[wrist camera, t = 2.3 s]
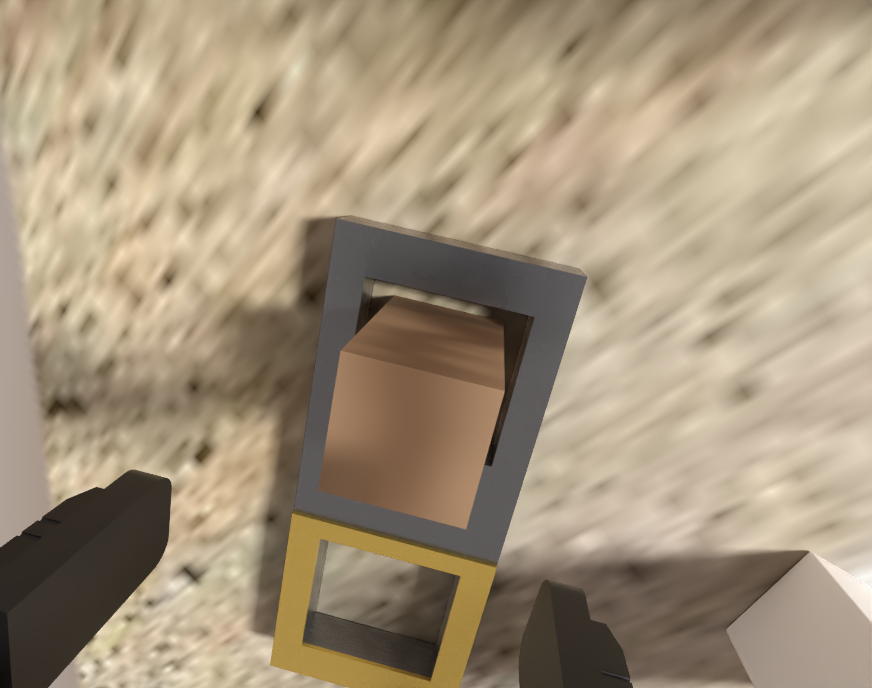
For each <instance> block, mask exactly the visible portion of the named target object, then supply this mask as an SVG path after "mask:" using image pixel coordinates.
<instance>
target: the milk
mask: <svg viewBox="0 0 872 688" xmlns="http://www.w3.org/2000/svg"><path fill="white" fill-rule="evenodd" d="M726 631H727V634H728V636H729V638H730V640H731V642H732V644H733V646H734V648H735V650H736V652H737V654H738V656H739V658H740V660H741V662H742V664H743V666H744V668H745V670H746V672H747V674H748V676H749V678H750V680H751V682H752V684H753V686H754V688H872V587H870V586H868V585H867V584H865V583H863V582H862V581H860V580H858V579H856V578H855V577H853V576H851V575H850V574H848V573H846V572H845V571H843V570H841V569H840V568H838V567H836V566H834V565H833V564H831V563H829V562H828V561H826V560H824V559H823V558H821V557H819V556H818V555H816V554H814V553H812V552H809V553H808V554H807V555H806V556H805V557H803V558H802V559H801V560H800V561H799V562H798V563H797V564H796V565H795V566H794V567H793V568H792V569H791V570H789V571H788V572H787V573H786V574H785V575H784V576H783V577H782V578H781V579H780V580H779V581H778V582H777V583H775V584H774V585H773V586H772V587H771V588H770V589H769V590H768V591H767V592H766V593H765V594H764V595H763V596H761V597H760V598H759V599H758V600H757V601H756V602H755V603H754V604H753V605H752V606H751V607H750V608H749V609H747V610H746V611H745V612H744V613H743V614H742V615H741V616H740V617H739V618H738V619H737V620H736V621H735V622H733V623H732V624H731V625H730V626H729V627H728V628H727V629H726Z"/></svg>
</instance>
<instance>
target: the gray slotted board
mask: <svg viewBox="0 0 872 688" xmlns="http://www.w3.org/2000/svg"><path fill="white" fill-rule="evenodd" d="M374 279H378V280H382V281H386V282H390V283H394V284H399V285H403V286H407V287H411V288H415V289H420V290H424V291H428V292H432V293H436V294H441V295H445V296H449V297H453V298H457V299H462V300H466V301H470V302H474V303H478V304H483V305H487V306H491V307H495V308H499V309H503V310H508V311H512V312H516V313H520V314H524V315H529V318H528V321H527V325H526V328H525V332H524V335H523V339H522V342H521V346H520V349H519V353H518V356H517V360H516V364H515V367H514V371H513V374H512V378H511V381H510V385H509V388H508V392H507V395H506V399H505V402H504V406H503V409H502V413H501V417H500V420H499V424H498V427H497V431H496V434H495V438H494V441H493V445H492V444H490V446H489V449H488V453H487V456H486V460H485V463H484V467H483V471H482V474H481V478H480V481H479V485H478V488H477V492H476V495H475V499H474V503H473V506H472V510H471V513H470V517H469V520H468V524H467V528H466V529H462V528H459V527H455V526H451V525H447V524H443V523H440V522H436V521H432V520H428V519H424V518H420V517H417V516H413V515H409V514H405V513H401V512H398V511H394V510H390V509H386V508H382V507H378V506H375V505H371V504H367V503H363V502H359V501H356V500H352V499H348V498H344V497H340V496H336V495H333V494H329V493H325V492H321V491H318V487H319V481H320V475H321V469H322V463H323V456H324V450H325V444H326V438H327V432H328V425H329V419H330V413H331V407H332V401H333V394H334V388H335V382H336V376H337V370H338V363H339V357H340V351H341V350H342V349H343V348H344V347H345V346H346V345H347V343H348V342H349V341H350V340H351V339H352V338H353V337H354V336H355V335H356V334H357V333H358V332H359V331H360V330H361V329H362V328H363V327H364V326H365V325H366V324H367V319H368V313H369V308H370V302H371V296H372V291H373V285H374ZM586 280H587V276H586V275H585V274H584V273H583V272H582V271H581V270H580V269H579V268H574V267H570V266H566V265H562V264H557V263H553V262H549V261H544V260H540V259H536V258H531V257H527V256H523V255H519V254H514V253H510V252H506V251H501V250H497V249H493V248H488V247H484V246H480V245H475V244H471V243H467V242H463V241H458V240H454V239H450V238H445V237H441V236H437V235H432V234H428V233H424V232H419V231H415V230H411V229H407V228H402V227H398V226H394V225H389V224H385V223H381V222H376V221H372V220H368V219H364V218H359V217H355V216H346V217H341V218H336V224H335V231H334V238H333V244H332V251H331V258H330V265H329V272H328V279H327V286H326V293H325V299H324V306H323V313H322V320H321V327H320V334H319V341H318V348H317V354H316V361H315V368H314V375H313V382H312V389H311V396H310V403H309V409H308V416H307V423H306V430H305V437H304V444H303V451H302V458H301V464H300V471H299V478H298V485H297V492H296V499H295V506H294V511H293V513H292V518H291V525H290V532H289V538H288V545H287V552H286V559H285V566H284V573H283V580H282V587H281V594H280V601H279V608H278V615H277V622H276V628H275V635H274V642H273V649H272V656H271V663H270V665H271V666H275V667H278V668H282V669H285V670H289V671H292V672H296V673H299V674H303V675H306V676H310V677H313V678H317V679H320V680H324V681H328V682H331V683H335V684H338V685H342V686H345V687H349V688H459V687H460V684H461V681H462V677H463V674H464V671H465V668H466V665H467V662H468V658H469V655H470V652H471V649H472V646H473V642H474V639H475V636H476V633H477V630H478V627H479V623H480V620H481V617H482V614H483V611H484V607H485V604H486V601H487V598H488V595H489V592H490V588H491V585H492V582H493V579H494V576H495V573H496V569H497V563H498V560H499V557H500V554H501V550H502V547H503V544H504V541H505V538H506V535H507V531H508V528H509V525H510V522H511V519H512V515H513V512H514V509H515V506H516V503H517V499H518V496H519V493H520V490H521V487H522V484H523V480H524V477H525V474H526V471H527V468H528V464H529V461H530V458H531V455H532V452H533V448H534V445H535V442H536V439H537V436H538V433H539V429H540V426H541V423H542V420H543V417H544V413H545V410H546V407H547V404H548V401H549V397H550V394H551V391H552V388H553V385H554V382H555V378H556V375H557V372H558V369H559V366H560V362H561V359H562V356H563V353H564V350H565V346H566V343H567V340H568V337H569V334H570V331H571V327H572V324H573V321H574V318H575V315H576V311H577V308H578V305H579V302H580V299H581V295H582V292H583V289H584V286H585V283H586ZM328 541H331V542H335V543H338V544H342V545H346V546H350V547H353V548H357V549H361V550H365V551H368V552H372V553H376V554H380V555H383V556H387V557H391V558H394V559H398V560H402V561H406V562H409V563H413V564H417V565H421V566H424V567H428V568H432V569H436V570H439V571H443V572H447V573H450V574H454V575H455V579H454V583H453V586H452V590H451V593H450V597H449V600H448V604H447V607H446V611H445V614H444V618H443V621H442V625H441V628H440V632H439V636H438V639H437V643H436V645H434V644H430V643H427V642H423V641H419V640H416V639H412V638H409V637H405V636H401V635H398V634H394V633H390V632H387V631H383V630H380V629H376V628H372V627H369V626H365V625H361V624H358V623H354V622H351V621H347V620H343V619H340V618H336V617H332V616H329V615H325V614H322V613H318V612H316V609H317V603H318V598H319V592H320V586H321V580H322V575H323V569H324V563H325V558H326V552H327V546H328Z"/></svg>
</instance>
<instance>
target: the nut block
mask: <svg viewBox="0 0 872 688" xmlns="http://www.w3.org/2000/svg"><path fill="white" fill-rule="evenodd" d="M504 392H505V373H504V322H503V321H499V320H495V319H491V318H487V317H482V316H478V315H474V314H470V313H466V312H462V311H457V310H453V309H449V308H445V307H441V306H437V305H432V304H428V303H424V302H420V301H416V300H411V299H407V298H403V297H399V296H395V295H394V296H393V297H392V298H391V299H390V300H389V301H388V302H387V303H386V304H385V306H384V307H383V308H382V309H381V310H380V311H379V312H378V313H377V314H376V315H375V316H374V317H373V318H372V319H371V320H370V321H369V322H368V323H367V324H366V325H365V326H364V327H363V328H362V329H361V330H360V331H359V332H358V333H357V334H356V335H355V336H354V337H353V338H352V339H351V340H350V341H349V342H348V343H347V345H346V346H345V347H344V348H343V349H342V350H341V351H340V357H339V363H338V370H337V376H336V382H335V388H334V394H333V401H332V407H331V413H330V419H329V425H328V432H327V438H326V444H325V450H324V456H323V463H322V469H321V475H320V481H319V487H318V491H321V492H325V493H329V494H333V495H336V496H340V497H344V498H348V499H352V500H356V501H359V502H363V503H367V504H371V505H375V506H378V507H382V508H386V509H390V510H394V511H398V512H401V513H405V514H409V515H413V516H417V517H420V518H424V519H428V520H432V521H436V522H440V523H443V524H447V525H451V526H455V527H459V528H462V529H466V528H467V524H468V520H469V517H470V513H471V510H472V506H473V503H474V499H475V495H476V492H477V488H478V485H479V481H480V478H481V474H482V471H483V467H484V463H485V460H486V456H487V453H488V449H489V446H490V442H491V439H492V435H493V431H494V428H495V424H496V421H497V417H498V414H499V410H500V407H501V403H502V399H503V396H504Z"/></svg>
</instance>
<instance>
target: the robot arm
mask: <svg viewBox="0 0 872 688" xmlns="http://www.w3.org/2000/svg"><path fill="white" fill-rule="evenodd" d="M171 489H172V486H171V482H170V480H169V479H168V478H164V477H161V476H157V475H153V474H149V473H145V472H142V471H138V470H130V471H127V472H126V473H124V474H123V475H122V476H121V477H119V478H118V479H117V480H115V481H114V482H113V483H112V484H110V485H109V486H108V487H106V488H105V489H102V488H98V487H95V488H93V489H90V490H88V491H86V492H83V493H81V494H78V495H76V496H73V497H71V498H69V499H66V500H65V501H64V502H62V503H61V504H59V505H58V506H57V507H55V508H54V509H53V510H51V511H50V512H48V513H47V514H46V515H44V516H43V517H42V520H41V521H36V522H35V523H34V524H32V525H31V526H29V527H28V528H27V529H25V530H24V531H23V532H22V534H21V535H20V536H16V537H14V538H13V539H11V540H10V541H9V542H7V543H6V544H5V545H3V546H2V547H0V688H48V687H49V686H50V685H51V684H52V682H53V681H54V680H55V679H56V678H57V677H58V676H59V675H60V674H61V672H62V671H63V670H64V669H65V668H66V667H67V666H68V665H69V664H70V662H71V661H72V660H73V659H74V658H75V657H76V656H77V655H78V653H79V652H80V651H81V650H82V649H83V648H84V647H85V646H86V644H87V643H88V642H89V641H90V640H91V639H92V638H93V637H94V636H95V634H96V633H97V632H98V631H99V630H100V629H101V628H102V627H103V625H104V624H105V623H106V622H107V621H108V620H109V619H110V618H111V617H112V615H113V614H114V613H115V612H116V611H117V610H118V609H119V608H120V606H121V605H122V604H123V603H124V602H125V601H126V600H127V599H128V598H129V596H130V595H131V594H132V593H133V592H134V591H135V590H136V589H137V587H138V586H139V585H140V584H141V583H142V582H143V581H144V580H145V579H146V577H147V576H148V575H149V574H150V573H151V572H152V571H153V569H154V568H155V567H156V566H157V564H158V563H159V561H160V559H161V557H162V556H163V553H164V551H165V549H166V546H167V542H168V537H169V522H170V506H171ZM519 684H520V688H633V686H632V683H630V676H629V672H628V668H627V665H626V661H625V657H624V654H623V650H622V648H621V647H620V645H619V644H618V642H617V641H616V639H615V638H614V636H613V635H612V633H611V631H610V630H609V628H608V627H607V625H606V624H603V623H599V622H596V621H592V620H590V616H589V611H588V607H587V602H586V597H585V594H584V591H583V590H582V589H580V588H576V587H572V586H568V585H564V584H561V583H557V582H553V581H549V580H545V581H544V582H543V583H542V585H541V588H540V591H539V593H538V596H537V599H536V602H535V604H534V607H533V610H532V613H531V615H530V618H529V621H528V624H527V626H526V629H525V632H524V635H523V638H522V643H521V648H520V656H519Z"/></svg>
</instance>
